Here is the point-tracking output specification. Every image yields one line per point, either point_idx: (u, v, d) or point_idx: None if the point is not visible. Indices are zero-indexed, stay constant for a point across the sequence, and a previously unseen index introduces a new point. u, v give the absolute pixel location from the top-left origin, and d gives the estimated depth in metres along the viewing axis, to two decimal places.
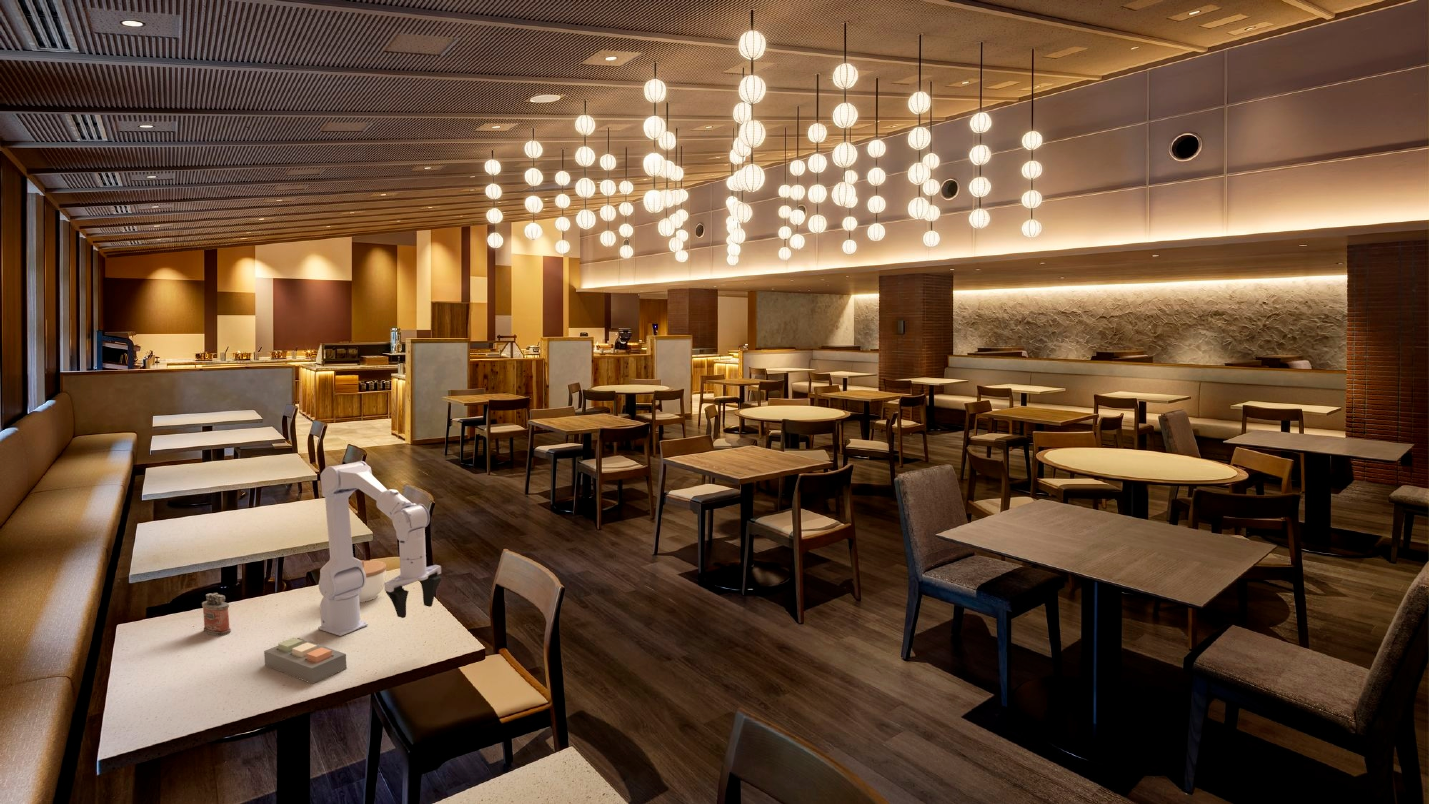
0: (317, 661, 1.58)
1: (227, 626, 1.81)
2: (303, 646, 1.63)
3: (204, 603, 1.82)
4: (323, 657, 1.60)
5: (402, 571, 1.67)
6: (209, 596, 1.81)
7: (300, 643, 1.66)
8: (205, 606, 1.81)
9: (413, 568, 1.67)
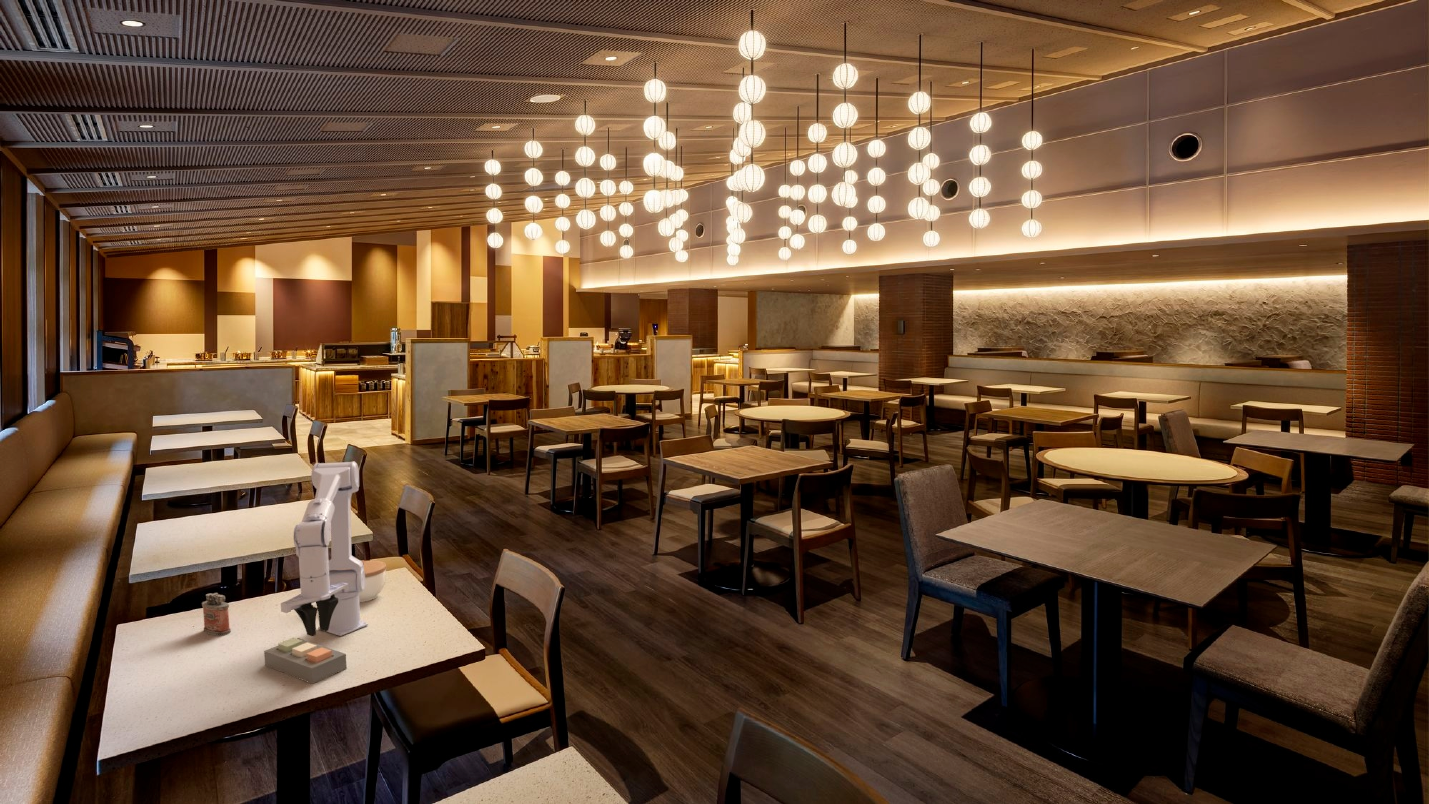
0: (317, 661, 1.58)
1: (227, 626, 1.81)
2: (303, 646, 1.63)
3: (204, 603, 1.82)
4: (323, 657, 1.60)
5: (302, 590, 1.57)
6: (209, 596, 1.81)
7: (300, 643, 1.66)
8: (205, 606, 1.81)
9: (314, 586, 1.56)
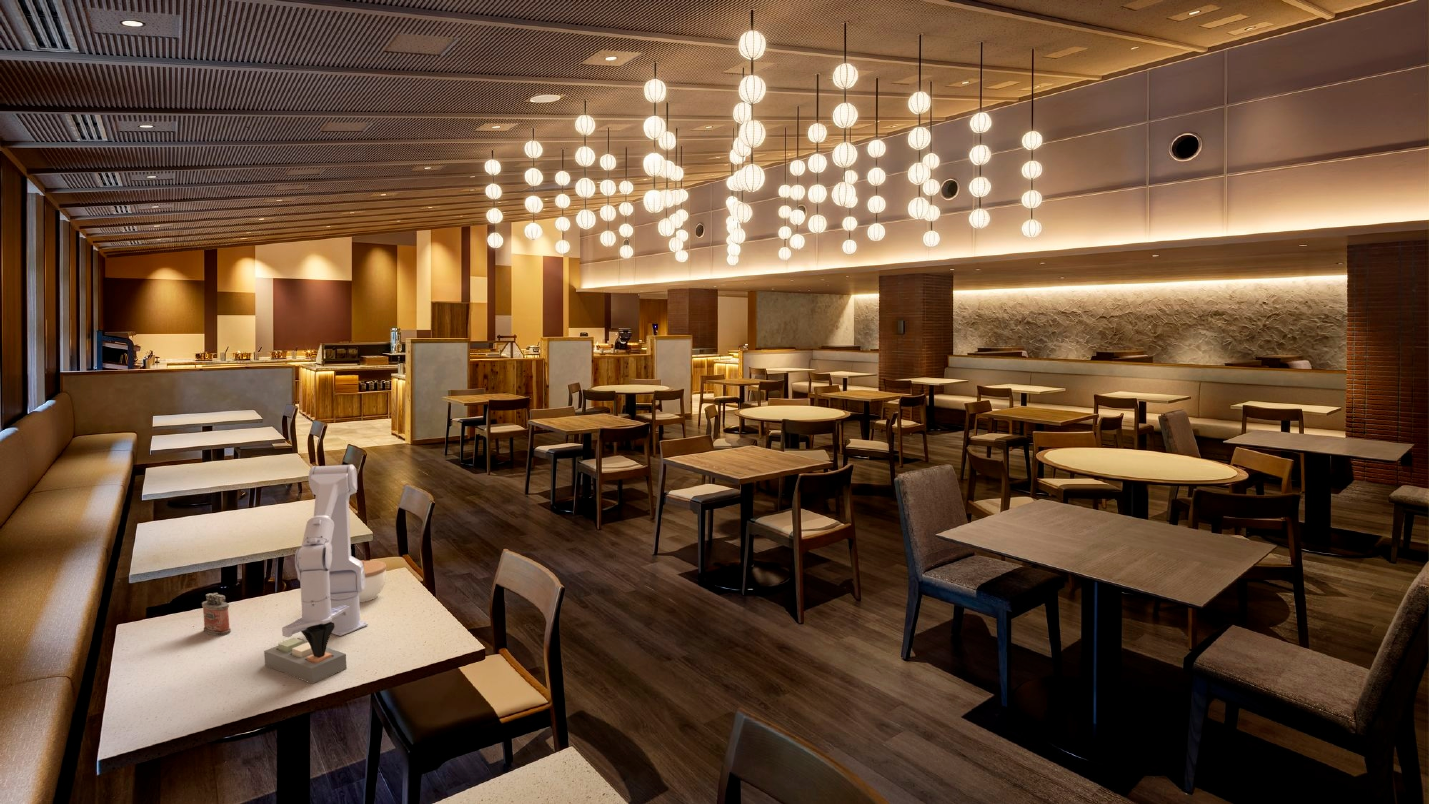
0: None
1: (227, 626, 1.81)
2: (303, 646, 1.63)
3: (204, 603, 1.82)
4: None
5: (303, 614, 1.57)
6: (209, 596, 1.81)
7: (300, 643, 1.66)
8: (205, 606, 1.81)
9: (315, 610, 1.57)
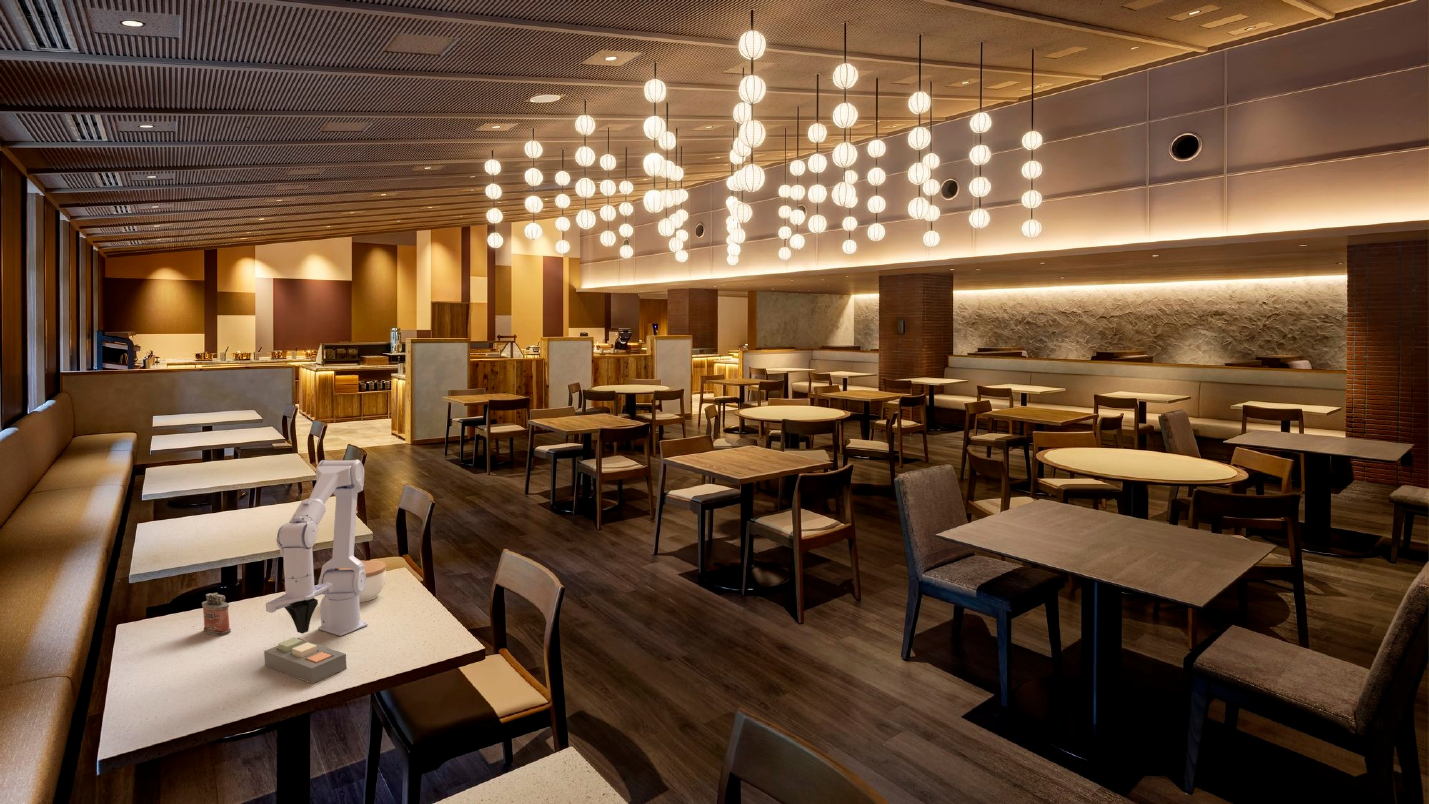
0: None
1: (227, 626, 1.81)
2: (303, 646, 1.63)
3: (204, 603, 1.82)
4: None
5: (287, 590, 1.60)
6: (209, 596, 1.81)
7: (300, 643, 1.66)
8: (205, 606, 1.81)
9: (298, 587, 1.59)
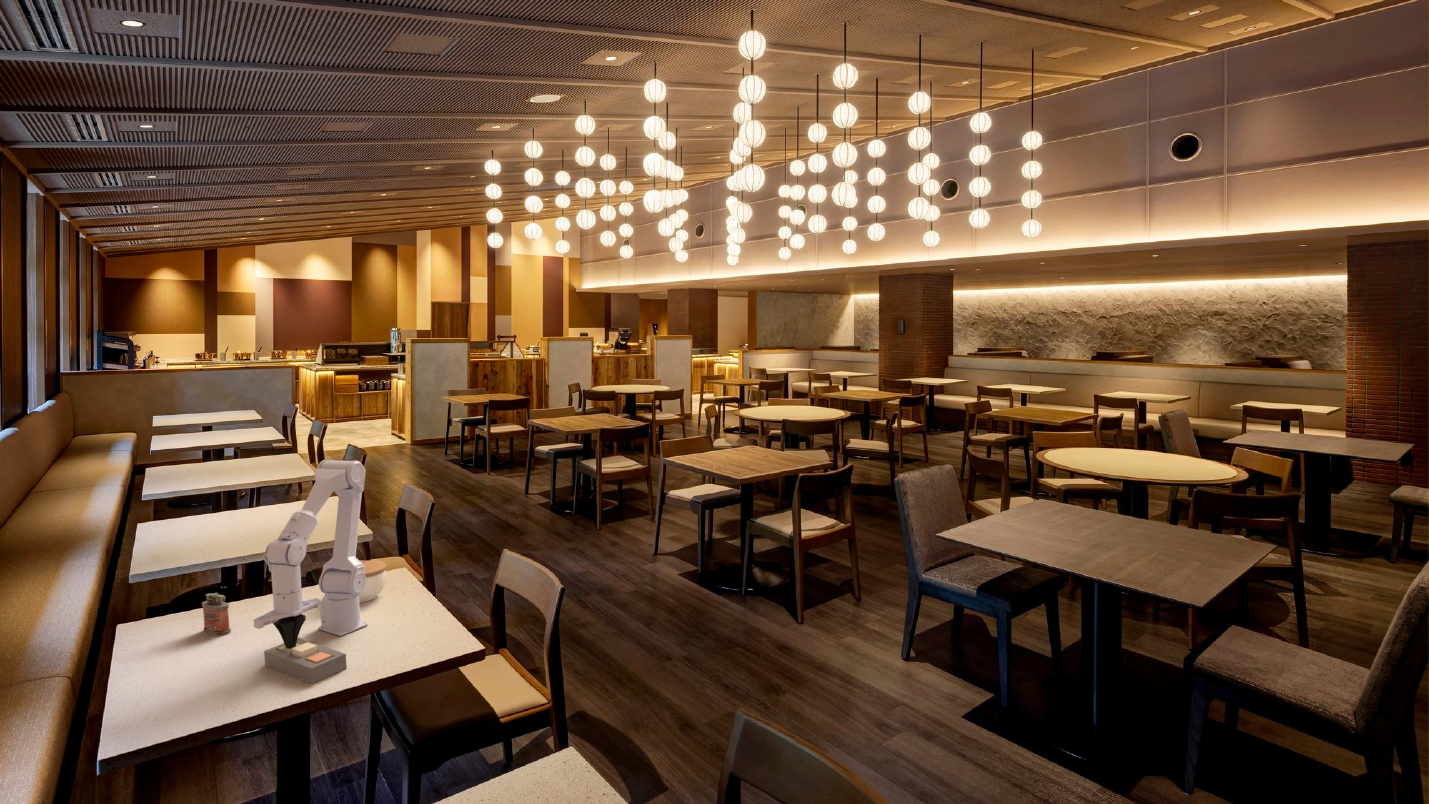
0: None
1: (227, 626, 1.81)
2: (303, 646, 1.63)
3: (204, 603, 1.82)
4: None
5: (275, 606, 1.62)
6: (209, 596, 1.81)
7: None
8: (205, 606, 1.81)
9: (286, 603, 1.62)
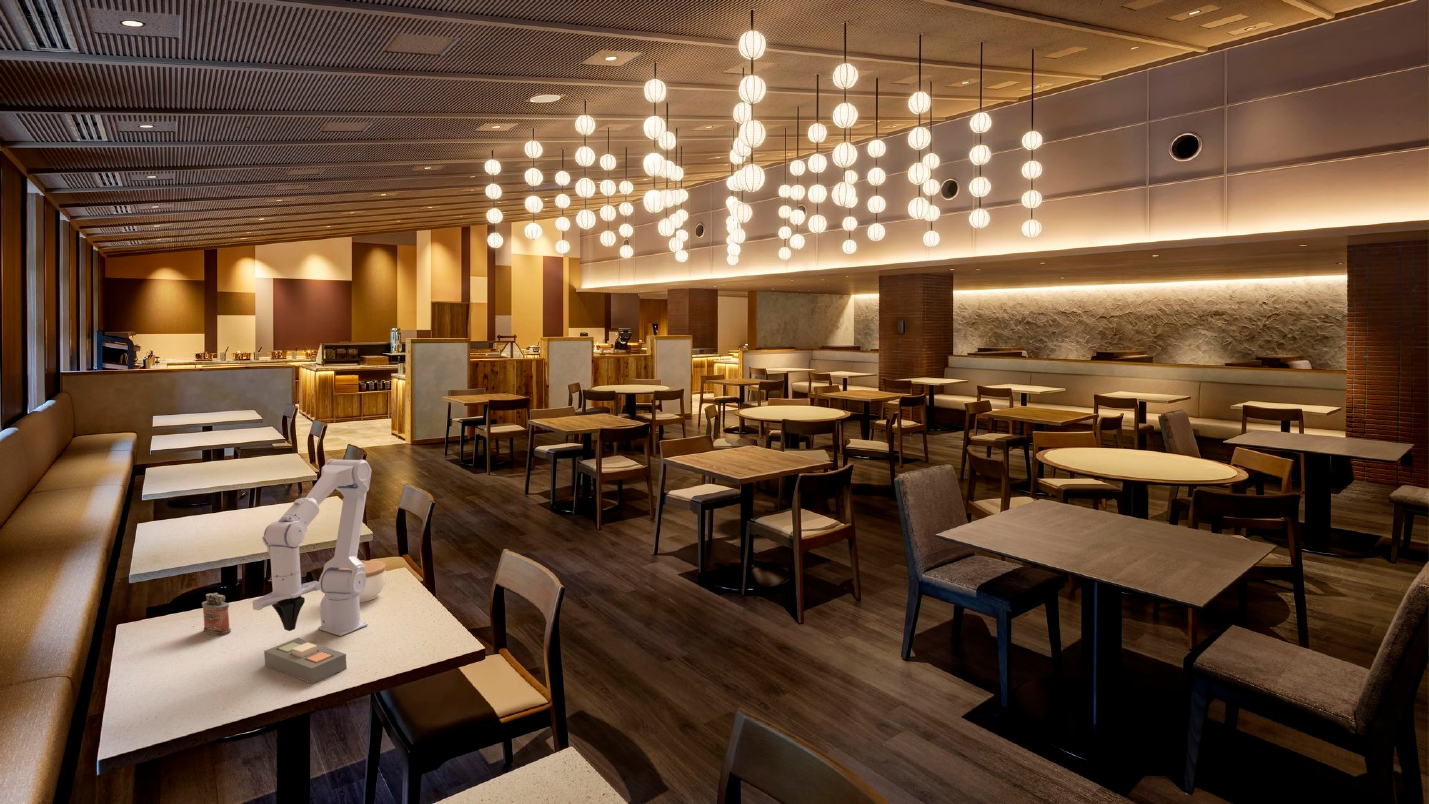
0: None
1: (227, 626, 1.81)
2: (303, 646, 1.63)
3: (204, 603, 1.82)
4: None
5: (273, 588, 1.62)
6: (209, 596, 1.81)
7: None
8: (205, 606, 1.81)
9: (285, 585, 1.62)
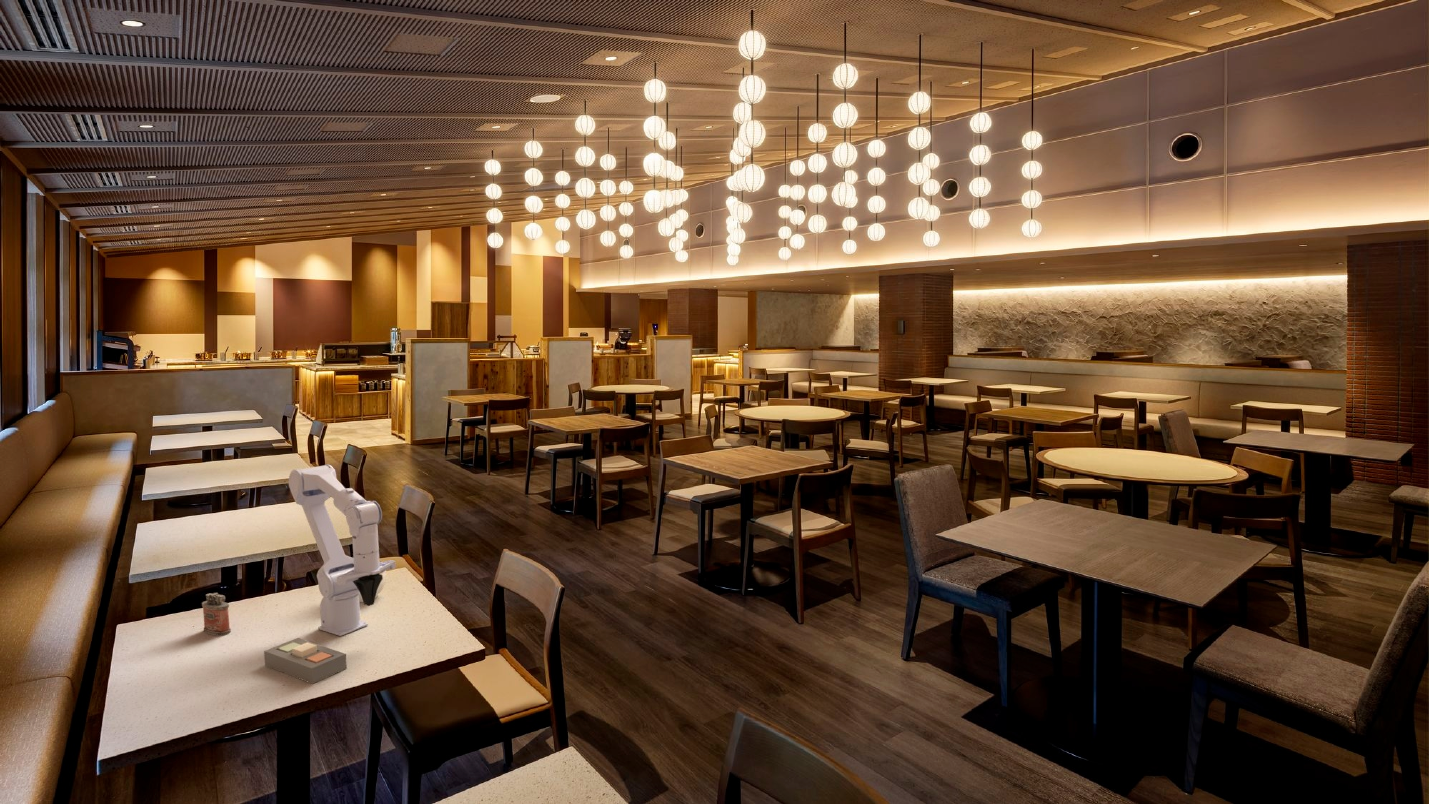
0: None
1: (227, 626, 1.81)
2: (303, 646, 1.63)
3: (204, 603, 1.82)
4: None
5: (355, 565, 1.74)
6: (209, 596, 1.81)
7: None
8: (205, 606, 1.81)
9: (365, 562, 1.74)
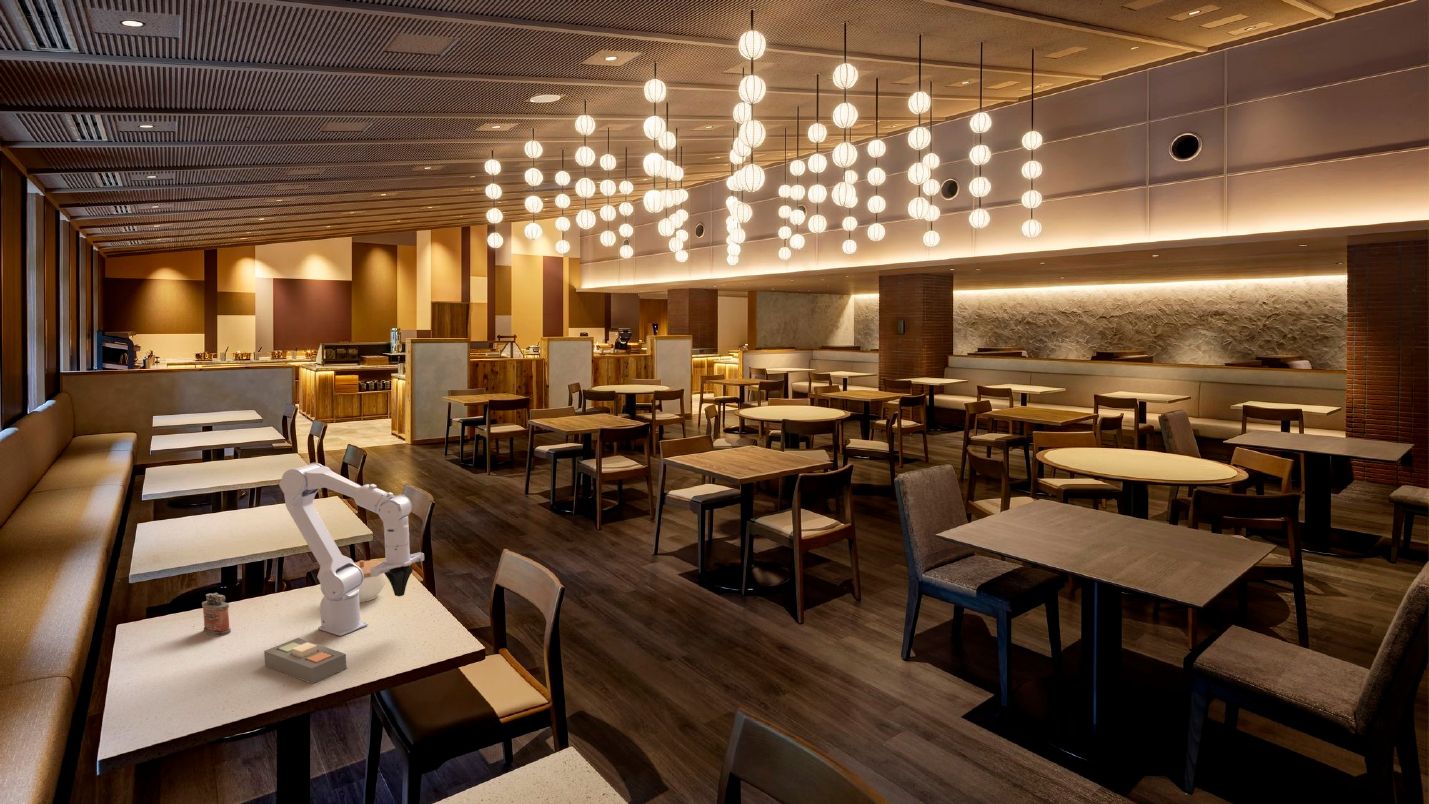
0: None
1: (227, 626, 1.81)
2: (303, 646, 1.63)
3: (204, 603, 1.82)
4: None
5: (387, 557, 1.79)
6: (209, 596, 1.81)
7: None
8: (205, 606, 1.81)
9: (397, 554, 1.79)
